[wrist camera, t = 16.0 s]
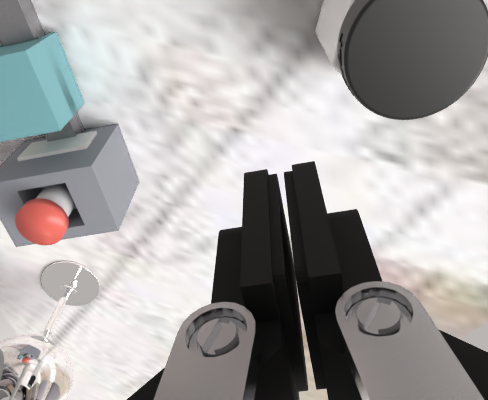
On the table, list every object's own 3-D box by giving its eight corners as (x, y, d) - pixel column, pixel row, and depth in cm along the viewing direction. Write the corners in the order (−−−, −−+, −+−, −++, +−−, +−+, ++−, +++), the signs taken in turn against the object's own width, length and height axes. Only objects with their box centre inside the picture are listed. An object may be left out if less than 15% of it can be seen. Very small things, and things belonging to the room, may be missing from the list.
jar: (292, 13, 36) (307, 54, 26) (374, -78, 33) (427, -72, 23) (368, 89, 39) (407, 151, 29) (449, 12, 36) (526, 52, 26)
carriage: (-2, 44, 37) (-41, 64, 32) (56, 31, 37) (25, 50, 32) (30, 113, 40) (-1, 141, 36) (84, 103, 40) (60, 130, 35)
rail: (-88, -148, 31) (-120, -153, 29) (-20, -167, 31) (-46, -174, 28) (44, 137, 42) (30, 153, 39) (96, 127, 42) (85, 143, 39)
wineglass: (85, 246, 49) (7, 399, 33) (121, 300, 53) (67, 459, 37) (18, 265, 50) (-84, 420, 35) (59, 316, 54) (-18, 476, 39)
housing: (23, 138, 42) (-22, 182, 35) (116, 120, 41) (89, 162, 34) (51, 196, 46) (16, 246, 39) (139, 181, 44) (118, 230, 38)
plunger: (34, 176, 38) (6, 209, 34) (75, 169, 38) (52, 202, 33) (52, 212, 40) (28, 248, 36) (91, 205, 40) (71, 241, 35)
